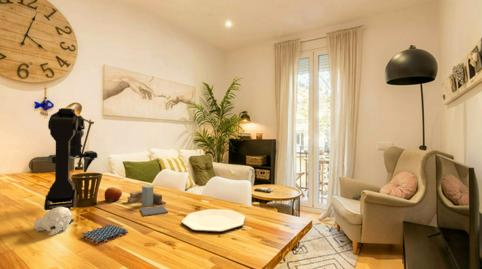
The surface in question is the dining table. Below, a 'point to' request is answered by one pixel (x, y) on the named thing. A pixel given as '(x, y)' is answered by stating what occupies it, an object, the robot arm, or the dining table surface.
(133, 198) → the offcut stack
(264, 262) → the dining table surface
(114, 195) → the fruit
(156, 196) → the brown wooden block
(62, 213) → the animal skull
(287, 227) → the dining table surface
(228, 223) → the plate
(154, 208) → the felt pad
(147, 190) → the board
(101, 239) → the woven mat
